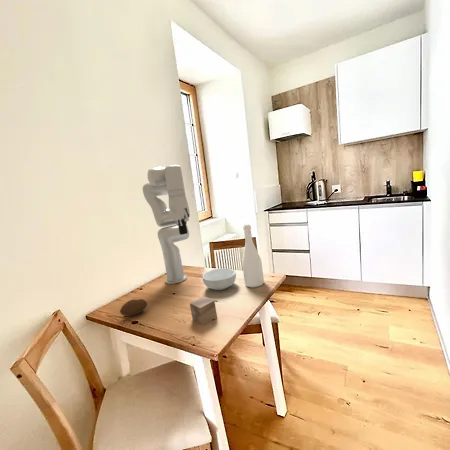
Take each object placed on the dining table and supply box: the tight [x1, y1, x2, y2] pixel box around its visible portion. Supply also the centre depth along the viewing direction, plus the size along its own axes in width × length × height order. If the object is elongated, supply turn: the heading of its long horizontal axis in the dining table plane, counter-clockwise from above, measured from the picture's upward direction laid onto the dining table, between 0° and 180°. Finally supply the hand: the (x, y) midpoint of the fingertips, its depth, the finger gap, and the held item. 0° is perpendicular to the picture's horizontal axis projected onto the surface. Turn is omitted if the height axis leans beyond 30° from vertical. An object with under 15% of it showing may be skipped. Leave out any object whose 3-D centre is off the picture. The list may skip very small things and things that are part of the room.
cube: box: [189, 295, 218, 326], centre depth 101 cm, size 7×7×7 cm
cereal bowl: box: [202, 267, 237, 291], centre depth 130 cm, size 17×17×7 cm
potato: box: [119, 298, 148, 317], centre depth 113 cm, size 7×12×7 cm, turn 131°
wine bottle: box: [241, 223, 265, 288], centre depth 125 cm, size 10×10×30 cm
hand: (183, 233), depth 117 cm, fingers closed
